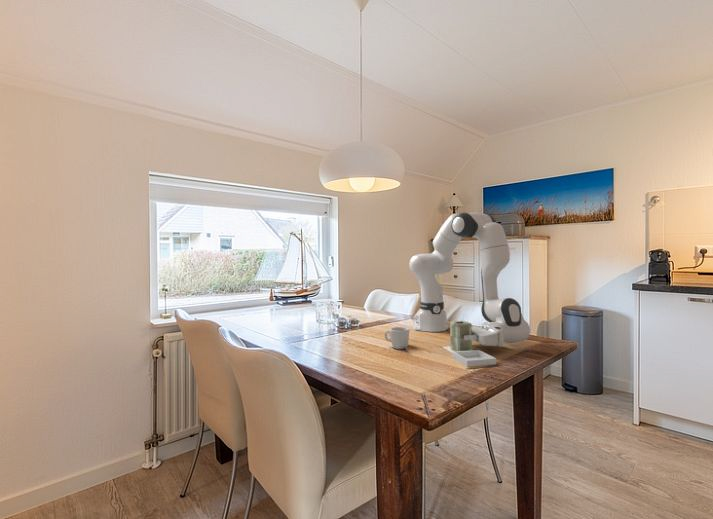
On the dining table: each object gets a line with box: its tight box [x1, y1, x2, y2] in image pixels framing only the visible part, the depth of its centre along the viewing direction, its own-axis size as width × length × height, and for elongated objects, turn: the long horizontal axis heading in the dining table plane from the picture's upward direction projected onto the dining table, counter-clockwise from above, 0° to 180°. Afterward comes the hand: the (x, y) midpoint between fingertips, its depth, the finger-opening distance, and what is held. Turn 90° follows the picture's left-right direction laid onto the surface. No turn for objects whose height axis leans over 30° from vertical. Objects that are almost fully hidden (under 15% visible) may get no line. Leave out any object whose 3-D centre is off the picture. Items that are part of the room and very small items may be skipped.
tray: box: [451, 349, 497, 370], centre depth 127 cm, size 11×11×3 cm
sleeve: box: [449, 320, 473, 352], centre depth 140 cm, size 6×6×11 cm
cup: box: [384, 326, 410, 350], centre depth 150 cm, size 11×8×8 cm
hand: (458, 335), depth 140 cm, fingers closed on sleeve, 6 cm apart
